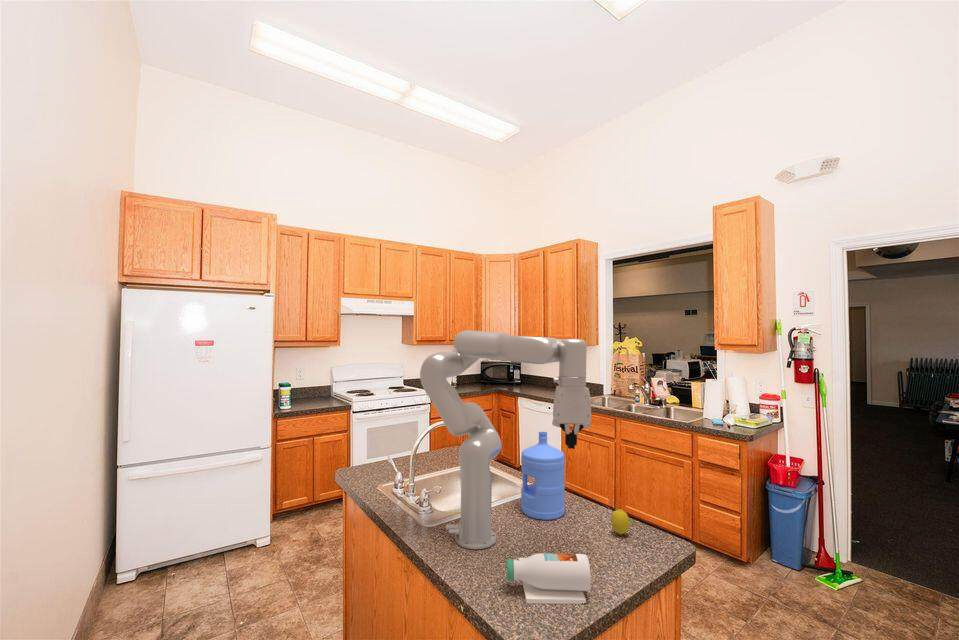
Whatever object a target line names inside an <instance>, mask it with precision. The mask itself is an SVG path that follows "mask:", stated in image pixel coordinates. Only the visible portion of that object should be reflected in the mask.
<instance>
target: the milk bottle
mask: <svg viewBox="0 0 959 640" xmlns="http://www.w3.org/2000/svg"><path fill="white" fill-rule="evenodd" d="M588 557H589V556H588V555H586V554H585V553H563V552H562V553H558V552H557V553H556V552H554V553H553V552H552V553H551V552H549V553H548V552H545V553H534V554H532V555H530V556H528V557H525V558H526V559H523V560H519V559H518V560H516V559H513V558H508V559H507V560H506V581H509V582H513V581H515V582H516V581H521V582H522V581H524V582H526V583H528V584H530V585H532V586H534V587H536V588H540V589H548V590H570V591H583V592H589V591H591V587H592V586H591V585H592V574H591V573H592V572H591V566H590V561H589V558H588Z"/></svg>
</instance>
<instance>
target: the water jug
mask: <svg viewBox="0 0 959 640" xmlns="http://www.w3.org/2000/svg"><path fill="white" fill-rule="evenodd" d="M520 462H521V472H522V487H521V490H520V491H521V492H520V493H521V498H520V500H521V501H520V510H521V512H522V513H523V514H524V515H526V516H527V517H529V518H533V519H536V520H540V519H541V521H552V520H556V519H558V518H561V517H562V516H564V514H565V511H566V506H565V490H566V489H565V488H566V485H565V466H566V459H565V453H564V452H563V451H562V450H560V449H558V448H556V447H554V446H552V445H550V444H549V443H548V432H547V431H538V443H536V444H534V445H532V446H531V445H530V446H529V447H527V448H524V449H522V451H521V457H520ZM528 477H532V478H534V483H532V484H530V483H529V484H528Z"/></svg>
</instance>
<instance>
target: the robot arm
mask: <svg viewBox="0 0 959 640" xmlns="http://www.w3.org/2000/svg"><path fill="white" fill-rule="evenodd" d="M587 346H588V345H587V342H586V340H584V339H580V338H564V339H561V338H555V337H549V336H548V337H545V336H542V337H541V336H524V335H513V334H512V335H511V334H508V333H506V332H499V331H497V332H496V331H483V330H470V329H469V330H468V329H465V330H461V331H459V332H458V333H457V334H456V335H455V337H454V339H453V348H454V349H452V350H451V351H447V352H446V351H444V352H436V353H435V352H434V353H432V354H430V355H428V356H427V357H426V358H425V359H424V360H423V363H422V365H421V367H420V371H419V373H420V374H419V381H420V383H421V386H422V388H423V391H424V393H426V395H427V396H428V398H429V399H430V401H431V403H432V404H433V406H434V408H435V410H436V412H437V413H438V415H439V416H440V418H441V421H442V422H443V424H444V426H445V428H446V429H447V431H448V432H449V434H451V435H452V436H455V437H462V436H464V435H467V436H468V437H467V438H465V440H463V442H462V443H461V445H460V447H459V449H458V461H459V467H460V468H459V469H460V520H459V523H456V524H451V523H447V524H445V531H446V532H449V535H454V538H455V542H456V544H457V545H458V546H459V547H462V548H465V549H469V550H484V549H487V548H489V547H492V546H493V545H494V544H495V543H496V541H497V534H496V532H495V531H493V530H492V499H493V498H492V493H493V492H492V489H493V488H492V486H493V485H492V481H493V480H492V473H491V468H490V462H491V461H492V460H494V459H495V458H496V457H497V456H498V455H499V454H500V452H501V450H502V440H501V438H500V435H499V433H498V432H497V429H496V428H495V427H494V425H493V423H492V422H491V420H490V419H489V417H488V416H487V414H486V413H485V411H484V410H483V408H482V407H481V406H480V405H478V404H477V403H476V402H472V401H466V402H464V401H463V400H462V398H461V397H460V395H459V393H458V391H457V390H456V388H455V387H454V386H453V385H452V384H451V383H450V382H449V381H448V378H453V377H454V378H455V377H458V376H460V375H461V374H463V373H465V372H466V371H467V370H468V369H469V368H470V367H472V366H473V365H474V364H475V363H476V362H477V361H478V360H480V359H485V360H493V361H502V362H506V361H507V362H513V363H524V364H531V365H532V364H534V365H545V364H550V363H551V364H552V363H559V365H558V376H557V377H553V382H554V383H556V384H558V385H556V386H555V387H556V388H555V392H554V399H553V408H552V409H553V410H552V417H553V419H552V422H551V424H552V426H554V427H557V428H559V429H560V428H561V430H562V431H563V432H564V435H565V437H564V438H565V439H564V444H565V445H566V447H567V448H568V449H569V450H570V449H573V450H575V447H576V446H577V443H578V434H579V433H580V432H581V431H582V430H584V429H587V428H591V426H592V425H591V422H592V402H591V401H592V400H591V393H590V389H589V387H587V354H588V353H587V349H588V348H587ZM570 425H572V430H571V429H570Z"/></svg>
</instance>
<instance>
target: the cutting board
mask: <svg viewBox="0 0 959 640" xmlns="http://www.w3.org/2000/svg"><path fill="white" fill-rule="evenodd" d="M526 558H527V557H518V560H523V559H526ZM521 583H522V586H523V587H522V588H523V591H524V593H523V594H524V600H525V604H529V605H530V604H534V605H535V604H538V605H539V604H540V605H541V604H544V605H546V604H547V605H548V604H549V605H551V604H552V605H555V604H556V605H585V604H584V603H586V604H587V599H586V598H587V597H586V596H585V594H584V591H570V590H548V589H540V588H536V587H534V586H532V585H530V584H528V583H526V582H524V581H521ZM582 603H583V604H582Z"/></svg>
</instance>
